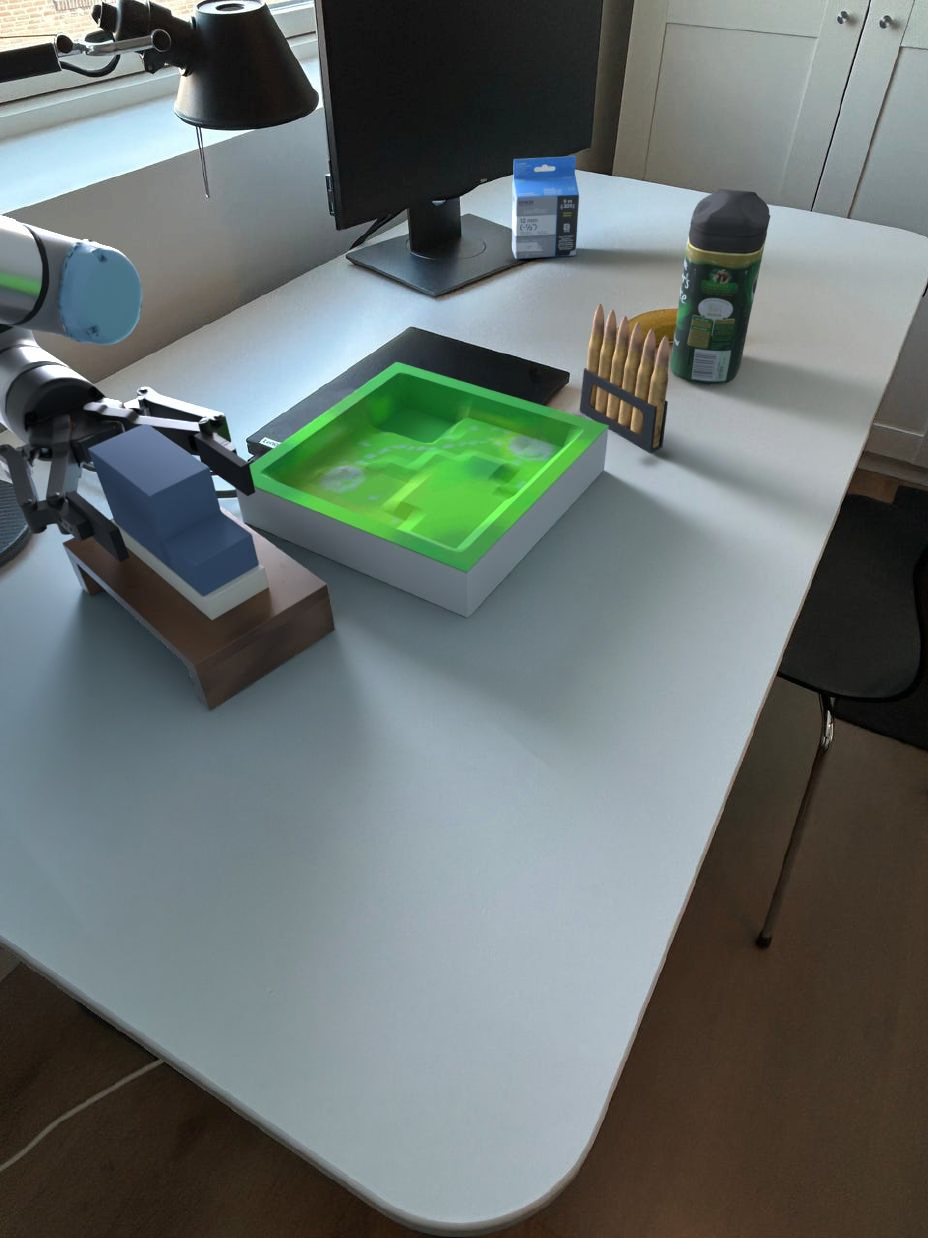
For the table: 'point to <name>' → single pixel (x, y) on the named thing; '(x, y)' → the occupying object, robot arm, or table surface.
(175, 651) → the shelf
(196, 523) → the block
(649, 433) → the ammunition clip
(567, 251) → the label tape box
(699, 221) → the coffee jar
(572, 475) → the tray
